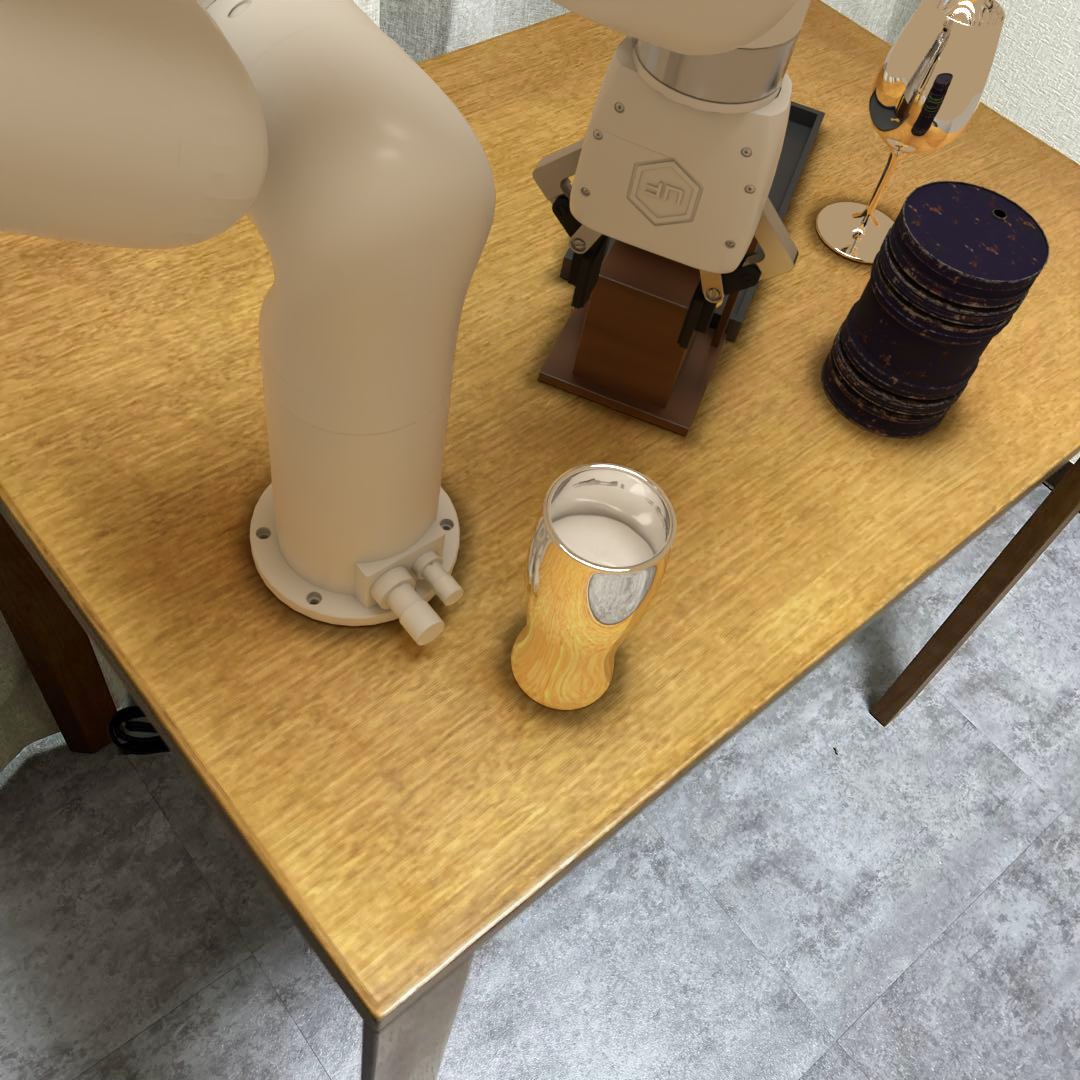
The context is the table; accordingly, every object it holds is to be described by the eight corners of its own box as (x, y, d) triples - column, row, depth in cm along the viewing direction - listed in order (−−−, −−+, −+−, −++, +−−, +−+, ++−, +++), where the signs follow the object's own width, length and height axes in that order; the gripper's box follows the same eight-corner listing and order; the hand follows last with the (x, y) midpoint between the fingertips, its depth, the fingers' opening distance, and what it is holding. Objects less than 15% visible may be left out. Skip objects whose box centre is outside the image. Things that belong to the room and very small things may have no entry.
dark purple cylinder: (896, 461, 79) (996, 305, 66) (793, 376, 82) (870, 213, 70) (973, 400, 83) (1079, 244, 71) (872, 322, 87) (957, 161, 75)
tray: (734, 342, 83) (742, 322, 82) (559, 277, 85) (563, 256, 83) (817, 132, 101) (825, 112, 99) (671, 80, 102) (676, 60, 100)
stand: (686, 437, 77) (730, 321, 68) (537, 380, 78) (562, 259, 69) (724, 341, 83) (770, 224, 74) (586, 289, 84) (614, 168, 75)
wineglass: (899, 212, 95) (1012, -14, 79) (908, 273, 91) (1030, 46, 75) (811, 196, 95) (907, -35, 79) (815, 256, 90) (918, 24, 74)
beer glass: (609, 731, 63) (671, 591, 51) (491, 701, 63) (525, 554, 51) (628, 629, 67) (689, 477, 55) (516, 601, 67) (554, 443, 55)
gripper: (521, 19, 52) (483, 302, 67) (871, 141, 51) (753, 404, 65) (574, -49, 57) (527, 231, 71) (898, 61, 55) (782, 324, 69)
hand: (636, 311), depth 68 cm, fingers open, 6 cm apart
